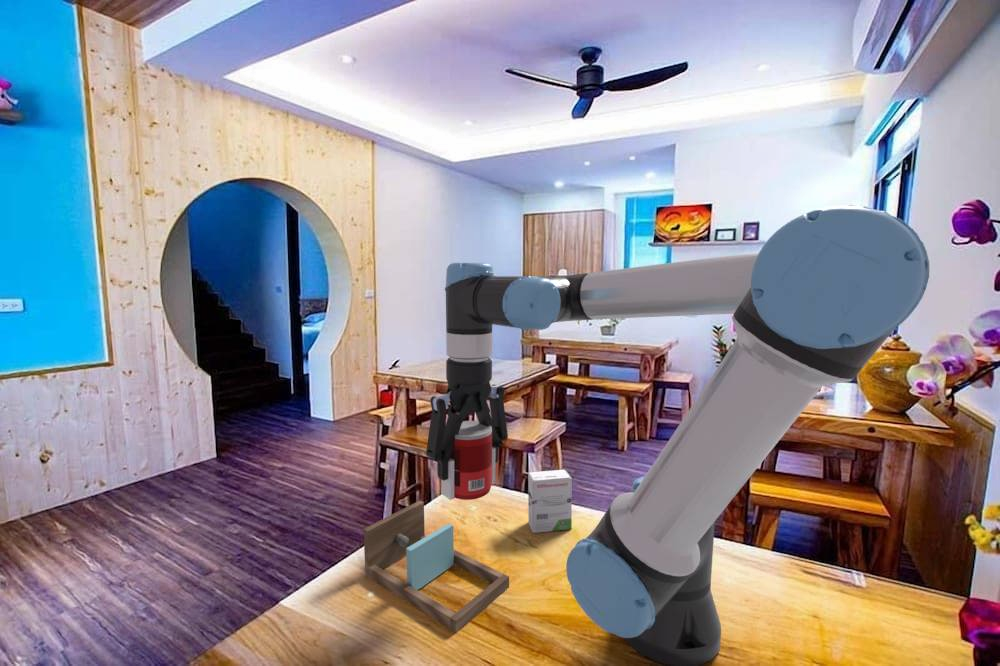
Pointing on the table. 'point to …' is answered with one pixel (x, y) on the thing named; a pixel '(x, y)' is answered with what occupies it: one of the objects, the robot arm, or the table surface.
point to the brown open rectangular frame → (389, 546)
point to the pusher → (430, 557)
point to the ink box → (549, 501)
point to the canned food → (472, 461)
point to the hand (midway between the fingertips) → (468, 488)
